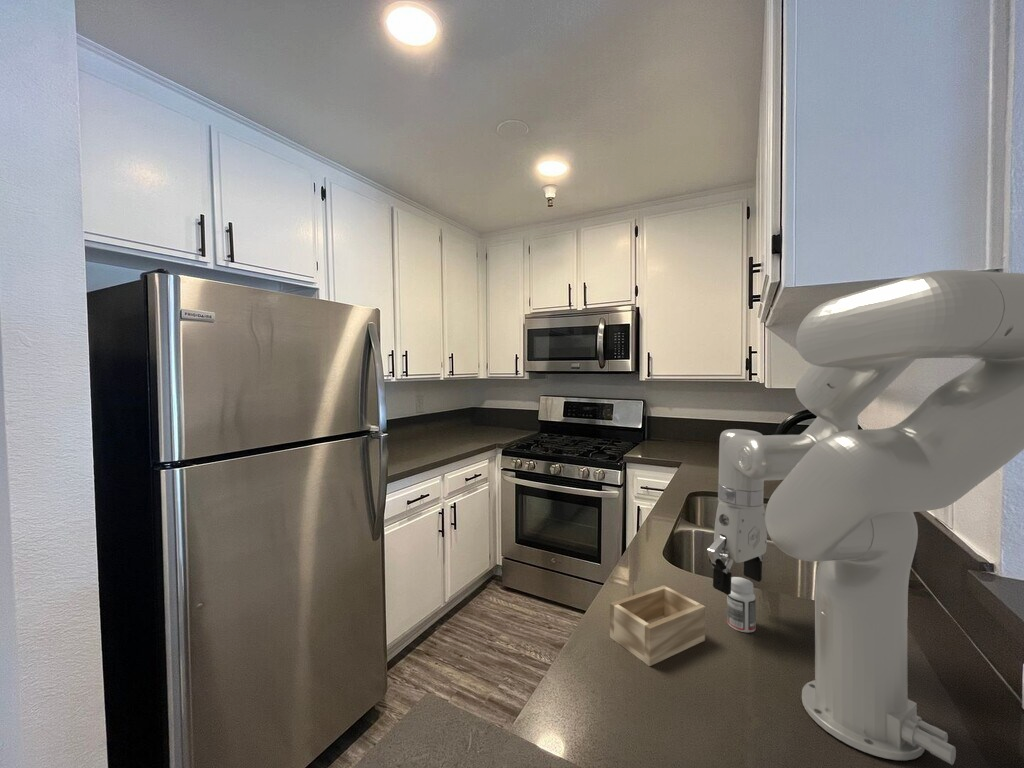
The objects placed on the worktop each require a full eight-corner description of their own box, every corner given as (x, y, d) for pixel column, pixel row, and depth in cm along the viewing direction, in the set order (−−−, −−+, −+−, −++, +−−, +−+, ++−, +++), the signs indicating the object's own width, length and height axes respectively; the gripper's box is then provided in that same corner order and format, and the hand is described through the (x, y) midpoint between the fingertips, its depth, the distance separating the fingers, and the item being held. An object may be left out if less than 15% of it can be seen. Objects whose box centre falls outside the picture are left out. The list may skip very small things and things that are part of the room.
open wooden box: (704, 640, 73) (705, 606, 73) (649, 666, 66) (649, 628, 66) (663, 615, 81) (663, 585, 81) (609, 636, 74) (610, 603, 74)
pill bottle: (748, 619, 80) (748, 576, 80) (760, 634, 75) (760, 587, 75) (722, 618, 81) (722, 574, 81) (733, 632, 76) (733, 586, 76)
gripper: (731, 508, 71) (728, 606, 71) (786, 494, 80) (783, 582, 80) (693, 496, 77) (690, 586, 78) (747, 484, 86) (744, 566, 87)
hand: (737, 584), depth 79 cm, fingers open, 9 cm apart
